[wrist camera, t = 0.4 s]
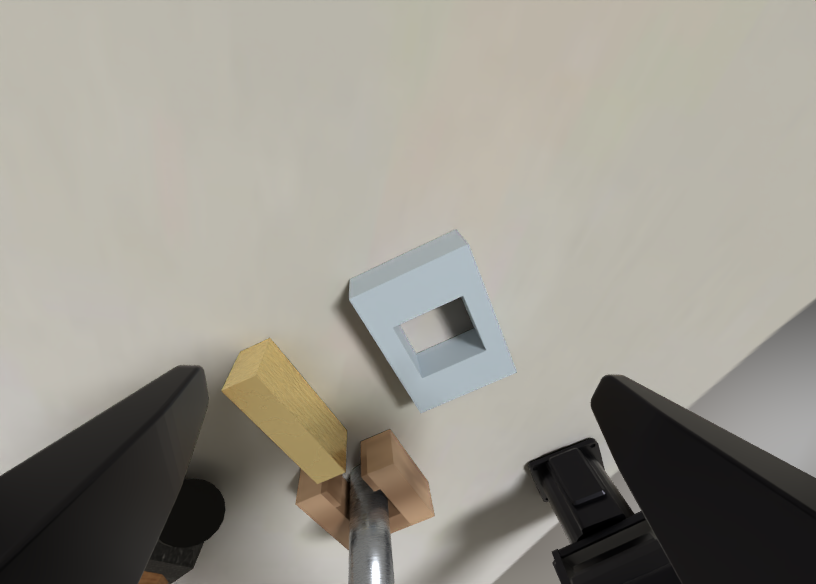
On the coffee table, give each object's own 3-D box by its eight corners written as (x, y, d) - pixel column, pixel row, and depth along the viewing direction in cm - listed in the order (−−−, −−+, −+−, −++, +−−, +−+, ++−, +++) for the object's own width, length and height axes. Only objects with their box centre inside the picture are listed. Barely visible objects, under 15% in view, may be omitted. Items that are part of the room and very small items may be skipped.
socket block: (428, 481, 31) (434, 516, 28) (349, 513, 32) (348, 550, 29) (390, 429, 27) (393, 463, 24) (301, 466, 28) (295, 504, 25)
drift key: (346, 430, 27) (345, 472, 23) (321, 441, 27) (317, 484, 24) (270, 337, 22) (255, 375, 19) (240, 351, 22) (221, 390, 19)
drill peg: (391, 477, 30) (403, 608, 22) (360, 489, 30) (362, 623, 22) (375, 458, 29) (383, 591, 21) (343, 471, 29) (339, 608, 21)
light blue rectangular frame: (502, 349, 25) (517, 372, 23) (415, 387, 25) (420, 413, 23) (456, 229, 20) (468, 243, 18) (349, 279, 21) (348, 299, 18)
